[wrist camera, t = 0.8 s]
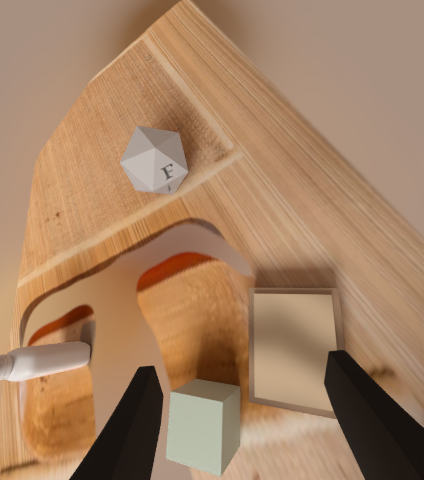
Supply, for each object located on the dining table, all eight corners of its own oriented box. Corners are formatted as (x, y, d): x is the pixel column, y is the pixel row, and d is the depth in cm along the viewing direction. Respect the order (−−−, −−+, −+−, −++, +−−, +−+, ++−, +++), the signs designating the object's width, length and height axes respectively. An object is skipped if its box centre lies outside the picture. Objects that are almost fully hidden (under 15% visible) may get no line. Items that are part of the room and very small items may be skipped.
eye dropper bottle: (82, 381, 32) (-36, 414, 22) (59, 359, 35) (-56, 379, 24) (96, 349, 33) (-13, 366, 22) (72, 329, 35) (-35, 337, 25)
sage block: (240, 445, 23) (220, 476, 19) (193, 432, 25) (165, 458, 20) (240, 385, 24) (222, 402, 20) (196, 378, 26) (170, 391, 22)
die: (148, 212, 36) (143, 198, 27) (117, 161, 36) (100, 129, 26) (195, 185, 38) (205, 164, 28) (165, 136, 37) (166, 98, 28)
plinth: (349, 411, 20) (352, 424, 18) (255, 394, 23) (247, 403, 21) (337, 290, 23) (338, 287, 21) (254, 289, 26) (247, 287, 24)
